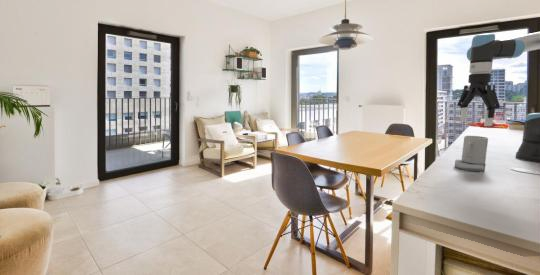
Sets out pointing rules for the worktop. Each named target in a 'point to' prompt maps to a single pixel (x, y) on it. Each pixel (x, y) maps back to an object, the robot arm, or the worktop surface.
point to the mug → (474, 149)
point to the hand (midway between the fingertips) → (475, 124)
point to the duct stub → (469, 166)
